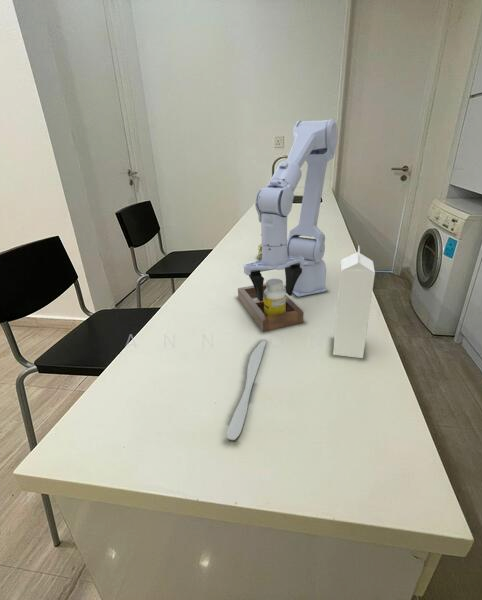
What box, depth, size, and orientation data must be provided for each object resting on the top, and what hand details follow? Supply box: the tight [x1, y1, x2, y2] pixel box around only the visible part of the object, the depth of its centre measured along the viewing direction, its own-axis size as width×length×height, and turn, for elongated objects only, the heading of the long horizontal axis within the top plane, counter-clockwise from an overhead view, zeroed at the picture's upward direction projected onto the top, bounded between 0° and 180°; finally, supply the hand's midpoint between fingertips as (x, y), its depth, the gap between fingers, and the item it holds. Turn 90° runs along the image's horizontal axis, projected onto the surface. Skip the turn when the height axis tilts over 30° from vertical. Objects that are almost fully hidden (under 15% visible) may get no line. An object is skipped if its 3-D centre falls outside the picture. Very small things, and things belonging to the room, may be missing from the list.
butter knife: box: [226, 340, 267, 441], centre depth 62 cm, size 1×27×3 cm
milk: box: [332, 244, 376, 359], centre depth 65 cm, size 6×6×22 cm
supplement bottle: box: [263, 278, 287, 317], centre depth 81 cm, size 5×5×10 cm
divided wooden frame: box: [237, 282, 304, 332], centre depth 86 cm, size 10×20×3 cm, turn 20°
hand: (274, 296), depth 81 cm, fingers open, 7 cm apart
